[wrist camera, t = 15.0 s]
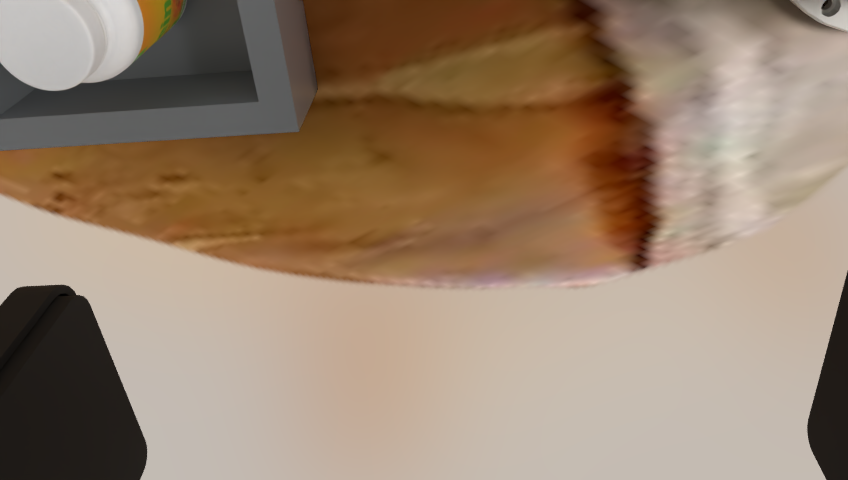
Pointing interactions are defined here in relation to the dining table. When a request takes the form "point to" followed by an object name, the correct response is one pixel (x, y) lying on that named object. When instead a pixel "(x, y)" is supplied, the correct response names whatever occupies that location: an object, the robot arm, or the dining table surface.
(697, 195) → the dining table surface
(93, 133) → the box
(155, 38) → the supplement bottle
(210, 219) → the dining table surface
